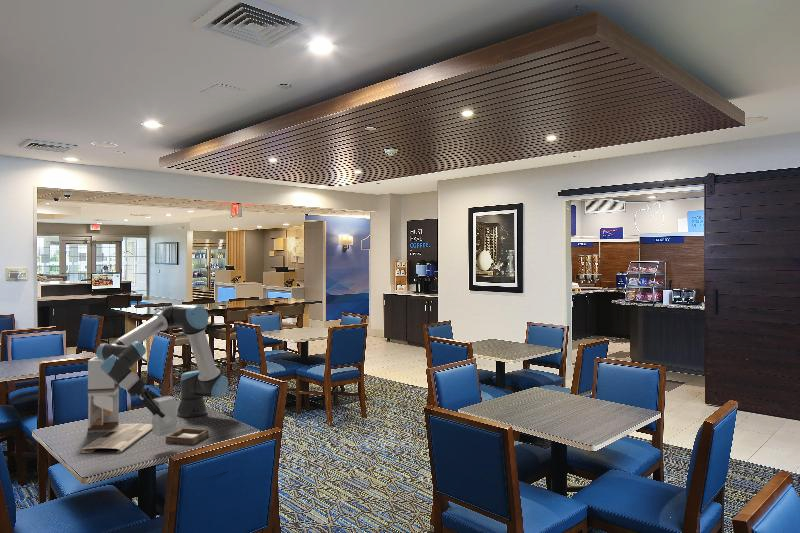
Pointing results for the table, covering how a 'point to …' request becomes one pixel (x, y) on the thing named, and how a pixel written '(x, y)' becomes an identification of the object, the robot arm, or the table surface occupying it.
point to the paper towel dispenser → (101, 399)
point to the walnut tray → (187, 436)
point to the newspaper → (119, 437)
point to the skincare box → (170, 409)
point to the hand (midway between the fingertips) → (171, 418)
